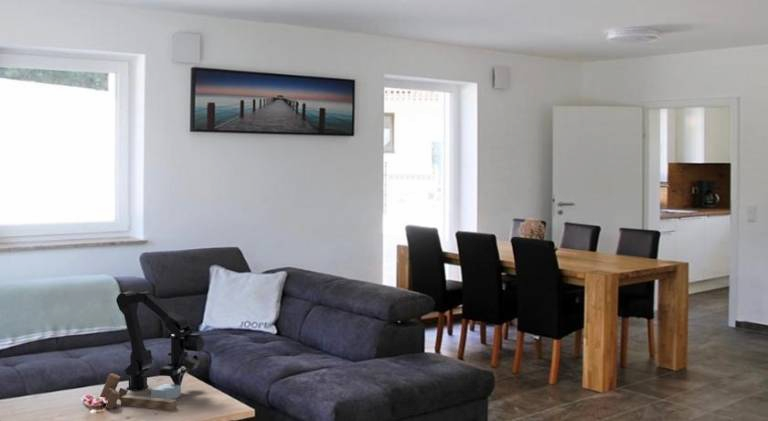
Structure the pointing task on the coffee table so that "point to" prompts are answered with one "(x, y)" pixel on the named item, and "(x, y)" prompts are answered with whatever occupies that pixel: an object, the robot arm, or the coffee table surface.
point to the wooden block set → (112, 390)
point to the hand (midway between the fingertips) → (178, 388)
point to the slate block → (166, 391)
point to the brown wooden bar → (148, 402)
